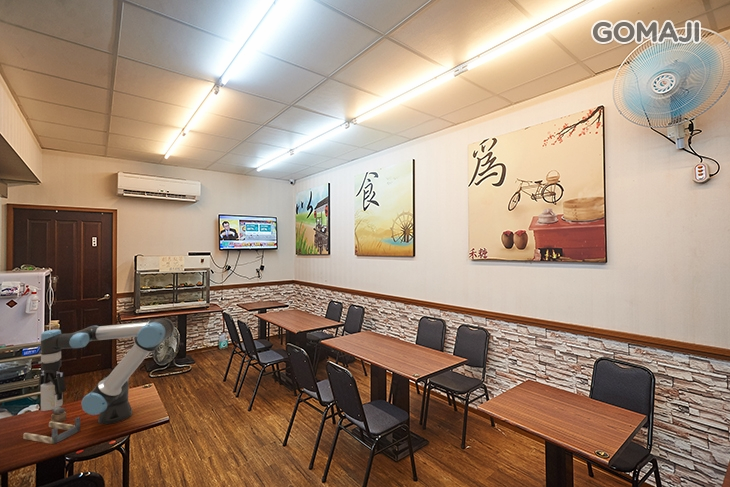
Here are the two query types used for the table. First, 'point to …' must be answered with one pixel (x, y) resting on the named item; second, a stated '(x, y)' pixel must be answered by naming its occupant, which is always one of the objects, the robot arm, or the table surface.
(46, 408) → the cup
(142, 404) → the table surface
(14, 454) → the table surface
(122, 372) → the robot arm
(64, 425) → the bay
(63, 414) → the grey-brown rounded block
